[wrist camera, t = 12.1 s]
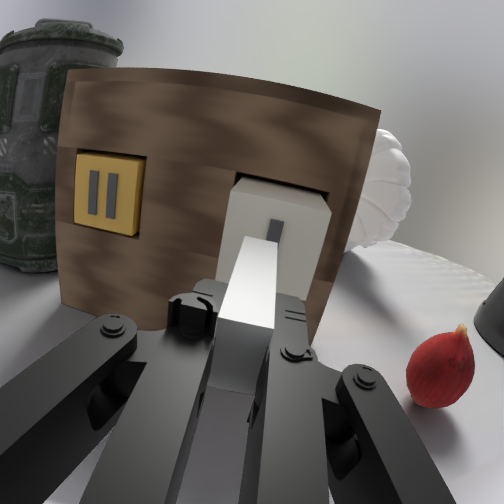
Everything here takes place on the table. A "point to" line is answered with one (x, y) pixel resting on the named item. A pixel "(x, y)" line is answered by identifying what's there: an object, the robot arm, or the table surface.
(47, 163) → the canister
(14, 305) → the table surface
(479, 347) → the table surface
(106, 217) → the button two
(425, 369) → the onion
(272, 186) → the button one
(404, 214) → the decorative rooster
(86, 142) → the console
